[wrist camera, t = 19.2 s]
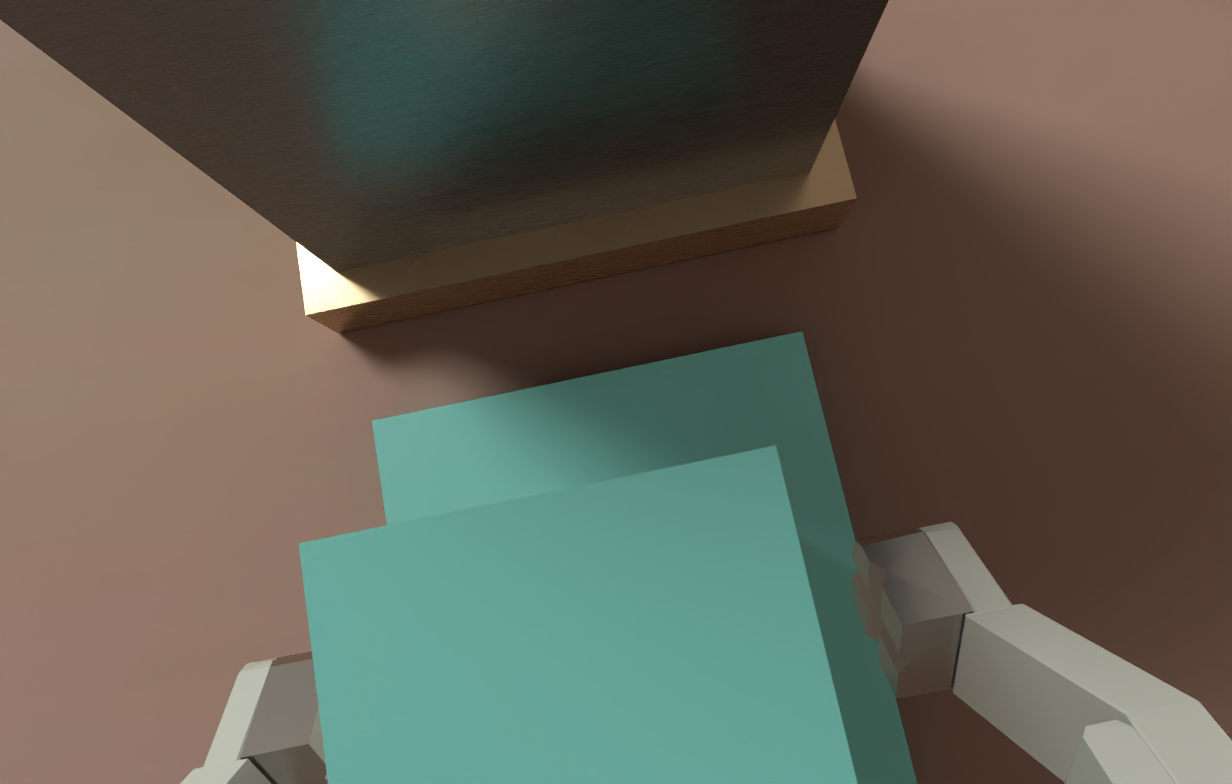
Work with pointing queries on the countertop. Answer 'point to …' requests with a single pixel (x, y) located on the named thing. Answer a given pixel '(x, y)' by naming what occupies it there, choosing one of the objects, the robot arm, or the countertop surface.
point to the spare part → (580, 639)
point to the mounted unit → (485, 129)
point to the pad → (655, 439)
